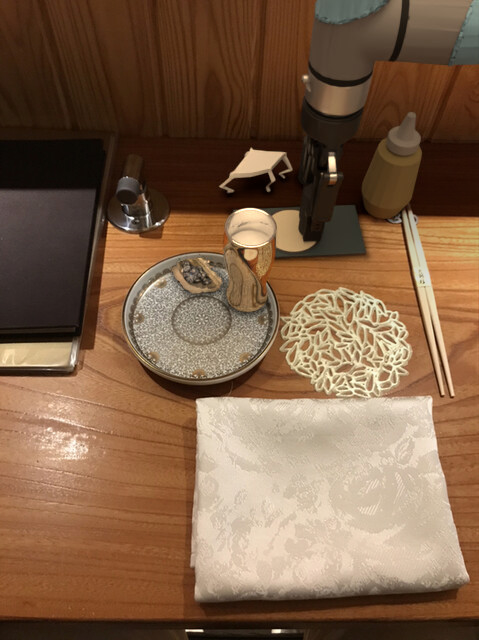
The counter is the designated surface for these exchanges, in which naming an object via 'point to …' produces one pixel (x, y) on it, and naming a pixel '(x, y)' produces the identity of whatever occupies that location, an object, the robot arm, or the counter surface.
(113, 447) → the counter surface
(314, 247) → the board
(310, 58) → the robot arm
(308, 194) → the black cylinder
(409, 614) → the counter surface
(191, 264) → the pouch of beans
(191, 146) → the counter surface
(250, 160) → the origami figure
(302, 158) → the black post
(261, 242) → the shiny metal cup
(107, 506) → the counter surface
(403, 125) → the squeeze bottle
